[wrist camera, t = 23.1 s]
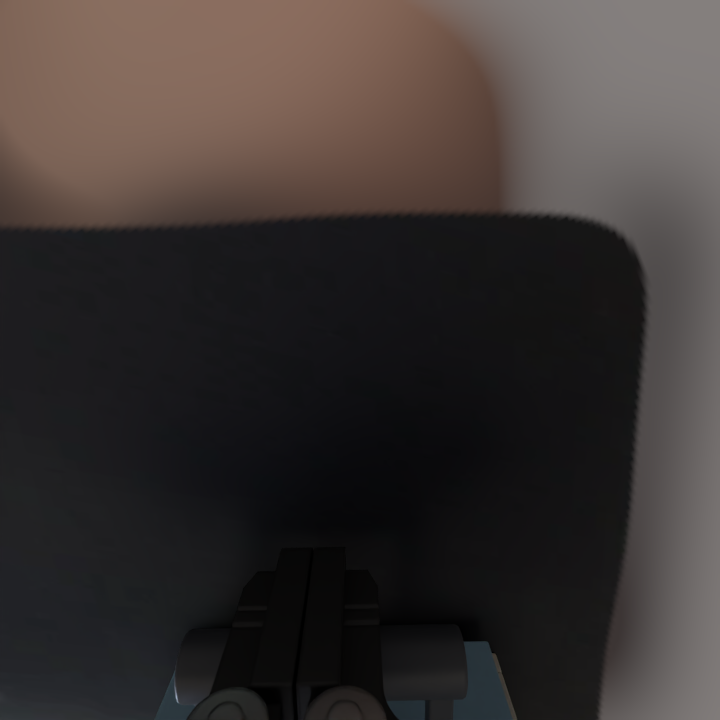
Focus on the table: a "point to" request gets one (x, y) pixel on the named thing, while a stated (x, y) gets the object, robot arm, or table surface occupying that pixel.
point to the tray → (399, 666)
